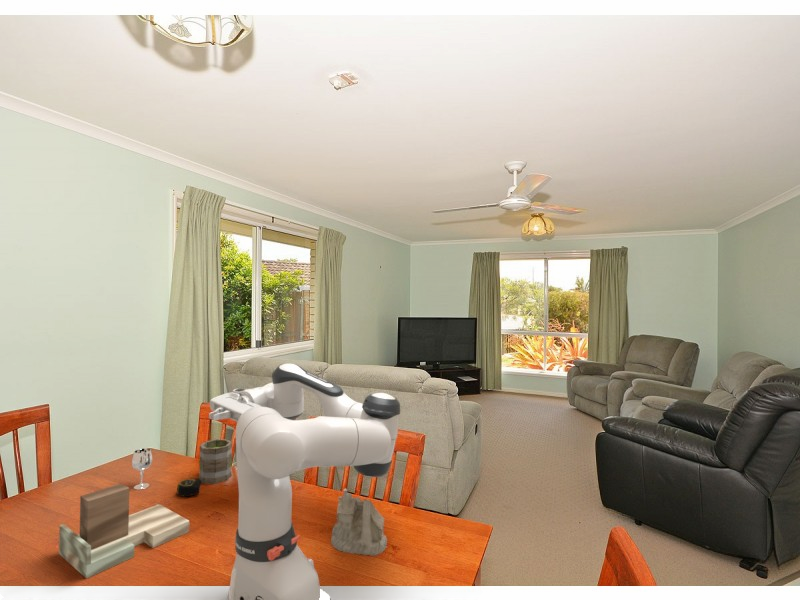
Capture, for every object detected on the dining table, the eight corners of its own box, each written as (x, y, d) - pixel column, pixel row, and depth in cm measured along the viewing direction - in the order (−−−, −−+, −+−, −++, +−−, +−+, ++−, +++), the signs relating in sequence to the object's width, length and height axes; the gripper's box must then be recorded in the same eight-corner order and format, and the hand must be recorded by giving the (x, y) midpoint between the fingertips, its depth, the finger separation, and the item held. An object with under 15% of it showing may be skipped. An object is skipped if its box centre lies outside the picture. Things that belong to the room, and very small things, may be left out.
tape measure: (198, 497, 136) (199, 485, 136) (174, 499, 134) (175, 487, 134) (201, 488, 143) (202, 477, 143) (179, 490, 141) (179, 479, 141)
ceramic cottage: (378, 560, 105) (378, 497, 106) (319, 548, 111) (320, 489, 112) (398, 532, 120) (399, 477, 121) (346, 523, 125) (347, 470, 126)
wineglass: (127, 488, 141) (128, 452, 141) (142, 481, 146) (143, 446, 146) (140, 491, 139) (141, 454, 139) (155, 484, 144) (156, 449, 144)
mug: (231, 481, 148) (232, 447, 148) (197, 486, 144) (198, 450, 144) (231, 465, 162) (232, 433, 162) (200, 468, 158) (201, 436, 158)
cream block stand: (189, 531, 116) (189, 506, 116) (86, 578, 96) (87, 547, 96) (158, 514, 125) (159, 490, 125) (58, 553, 105) (59, 525, 105)
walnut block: (128, 535, 108) (129, 487, 108) (87, 551, 101) (88, 501, 101) (120, 529, 111) (121, 483, 111) (79, 545, 103) (80, 496, 103)
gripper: (271, 420, 134) (231, 436, 123) (235, 405, 146) (195, 418, 135) (270, 401, 133) (229, 415, 122) (234, 387, 145) (193, 399, 134)
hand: (211, 417), depth 128 cm, fingers closed
